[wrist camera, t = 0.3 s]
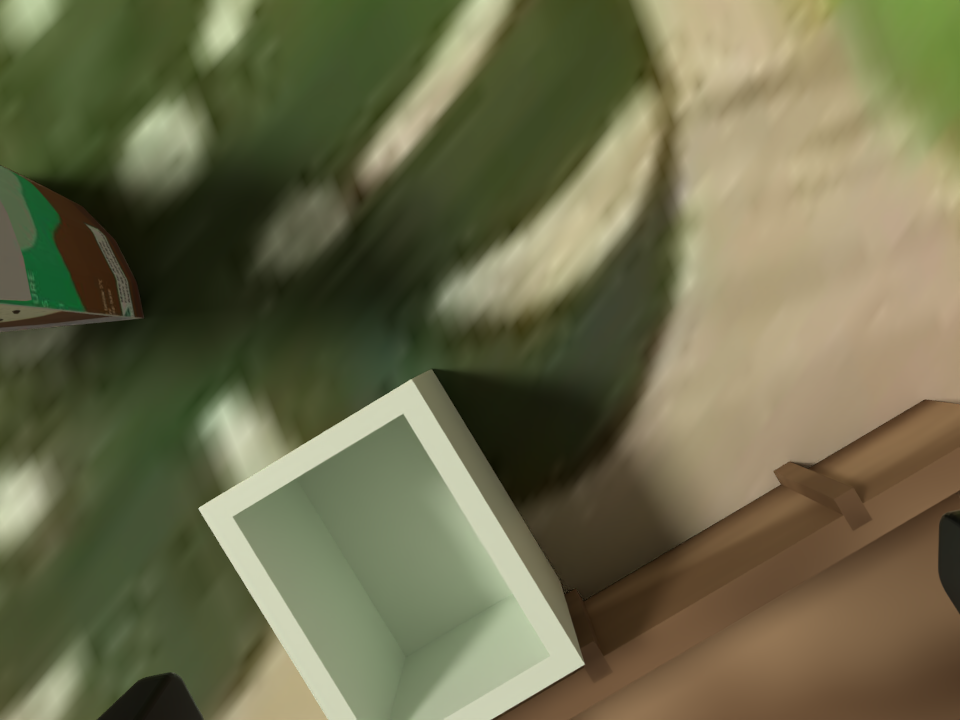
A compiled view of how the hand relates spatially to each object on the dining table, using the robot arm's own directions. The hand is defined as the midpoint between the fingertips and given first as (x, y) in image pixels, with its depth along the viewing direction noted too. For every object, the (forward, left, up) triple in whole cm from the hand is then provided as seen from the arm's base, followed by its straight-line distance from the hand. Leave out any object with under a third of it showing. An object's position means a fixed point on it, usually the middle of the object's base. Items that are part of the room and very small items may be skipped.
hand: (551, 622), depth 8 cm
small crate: (-1, +4, -15) cm, 15 cm away
